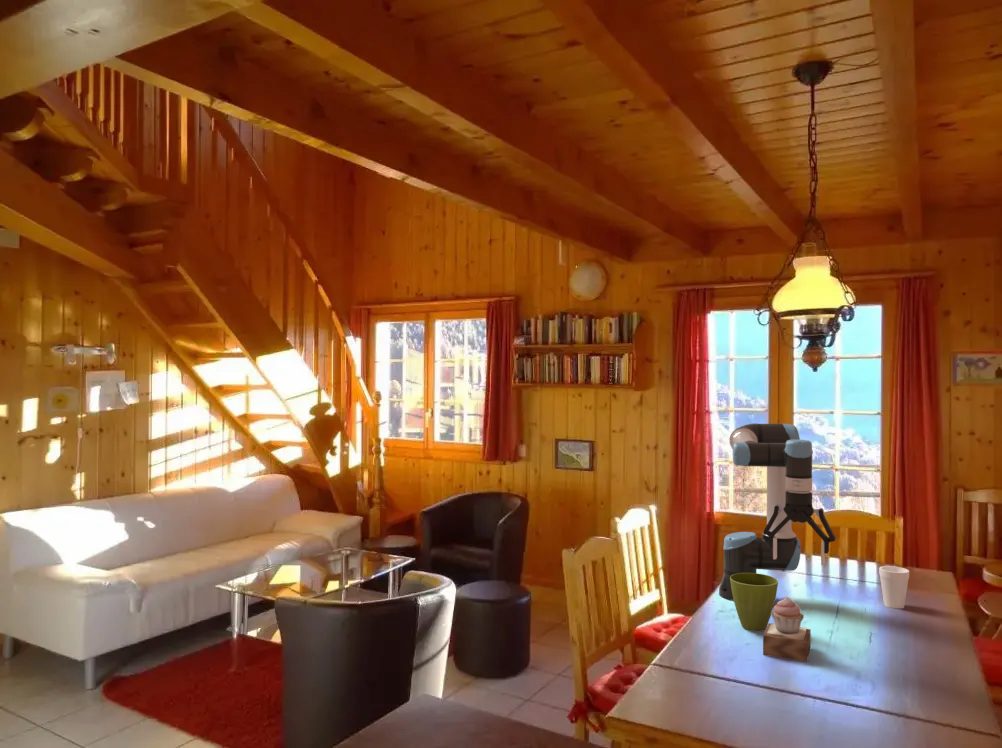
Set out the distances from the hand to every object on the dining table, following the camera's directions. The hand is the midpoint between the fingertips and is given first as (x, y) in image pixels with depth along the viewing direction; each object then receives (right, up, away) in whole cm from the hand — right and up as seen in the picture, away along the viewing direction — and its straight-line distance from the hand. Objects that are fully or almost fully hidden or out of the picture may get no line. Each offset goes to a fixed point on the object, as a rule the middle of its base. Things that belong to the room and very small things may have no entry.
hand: (798, 561), depth 222 cm
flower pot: (-8, -27, +18) cm, 33 cm away
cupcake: (-5, -20, -3) cm, 21 cm away
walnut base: (-5, -26, -3) cm, 27 cm away
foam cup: (+50, -26, +40) cm, 70 cm away
